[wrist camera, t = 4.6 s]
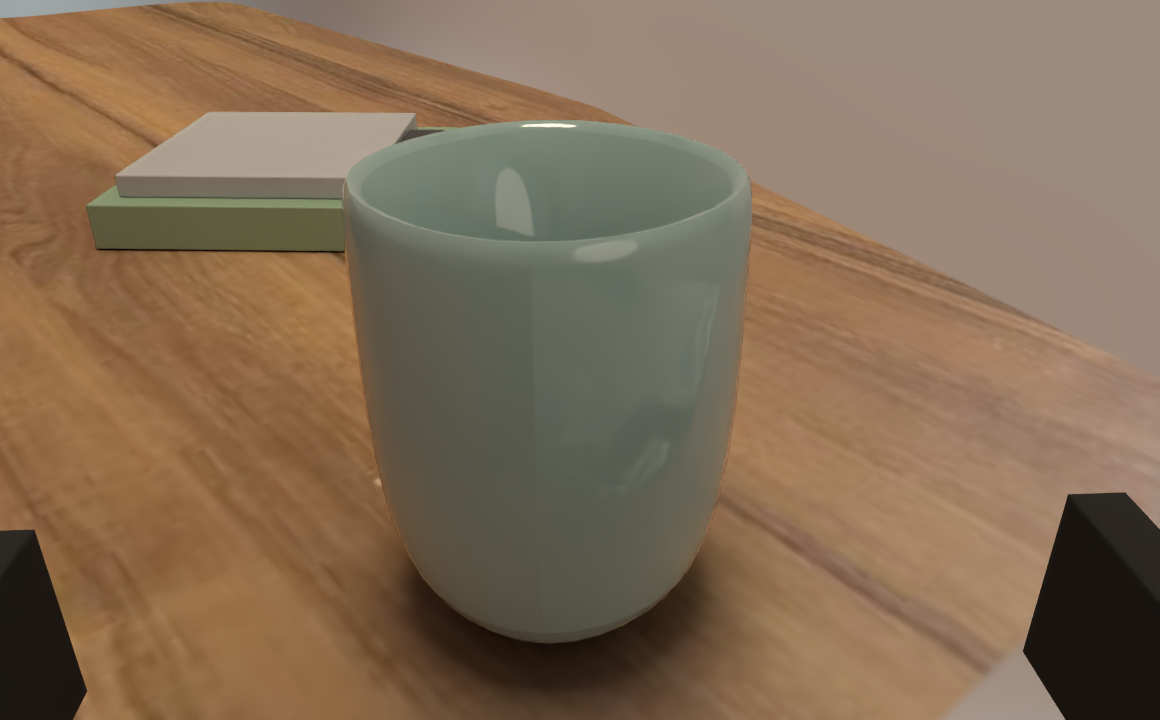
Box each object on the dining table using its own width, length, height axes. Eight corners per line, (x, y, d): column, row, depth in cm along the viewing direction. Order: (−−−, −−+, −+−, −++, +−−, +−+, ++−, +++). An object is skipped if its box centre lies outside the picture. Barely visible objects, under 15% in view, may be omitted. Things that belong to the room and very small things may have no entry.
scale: (460, 163, 53) (457, 108, 52) (417, 252, 42) (412, 185, 40) (206, 161, 54) (196, 106, 52) (95, 249, 42) (78, 182, 41)
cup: (784, 579, 23) (834, 172, 19) (537, 765, 19) (521, 286, 14) (566, 448, 28) (562, 101, 24) (328, 569, 24) (264, 168, 19)
